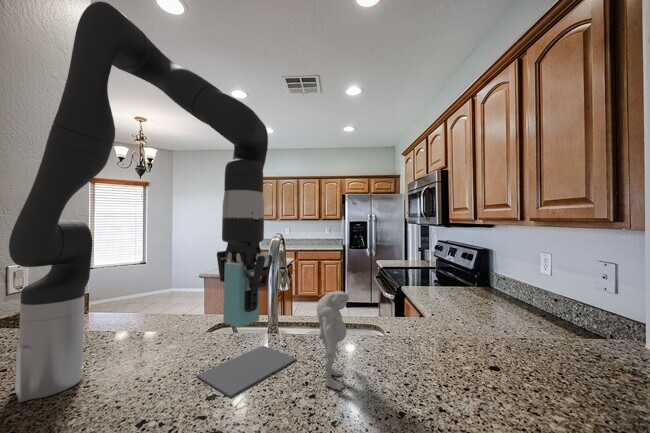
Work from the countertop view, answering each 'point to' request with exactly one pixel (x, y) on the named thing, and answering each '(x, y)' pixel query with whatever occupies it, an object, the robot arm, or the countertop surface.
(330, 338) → the figurine
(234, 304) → the teal block
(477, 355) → the countertop surface
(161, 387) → the countertop surface
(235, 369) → the rubber mat
